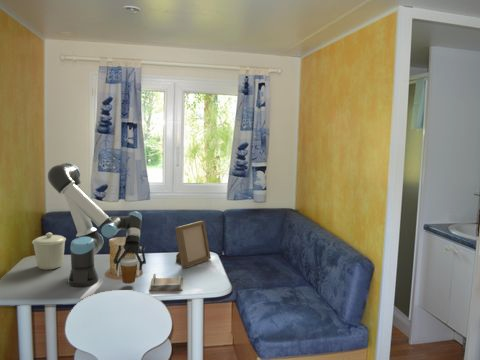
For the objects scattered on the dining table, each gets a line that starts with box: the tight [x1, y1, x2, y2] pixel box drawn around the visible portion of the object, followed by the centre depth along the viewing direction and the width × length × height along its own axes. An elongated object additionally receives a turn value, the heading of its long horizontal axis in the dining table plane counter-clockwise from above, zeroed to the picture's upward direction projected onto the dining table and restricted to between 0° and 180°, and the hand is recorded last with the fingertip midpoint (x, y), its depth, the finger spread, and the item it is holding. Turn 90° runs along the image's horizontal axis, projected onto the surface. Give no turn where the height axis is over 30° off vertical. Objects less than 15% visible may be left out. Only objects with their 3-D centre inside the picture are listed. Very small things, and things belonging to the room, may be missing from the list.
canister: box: [31, 231, 67, 271], centre depth 233 cm, size 18×18×21 cm
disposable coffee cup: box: [120, 256, 139, 285], centre depth 209 cm, size 10×10×12 cm
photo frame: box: [174, 220, 211, 269], centre depth 248 cm, size 15×22×25 cm
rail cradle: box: [148, 272, 184, 292], centre depth 212 cm, size 17×16×3 cm
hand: (128, 275), depth 206 cm, fingers closed on disposable coffee cup, 9 cm apart
